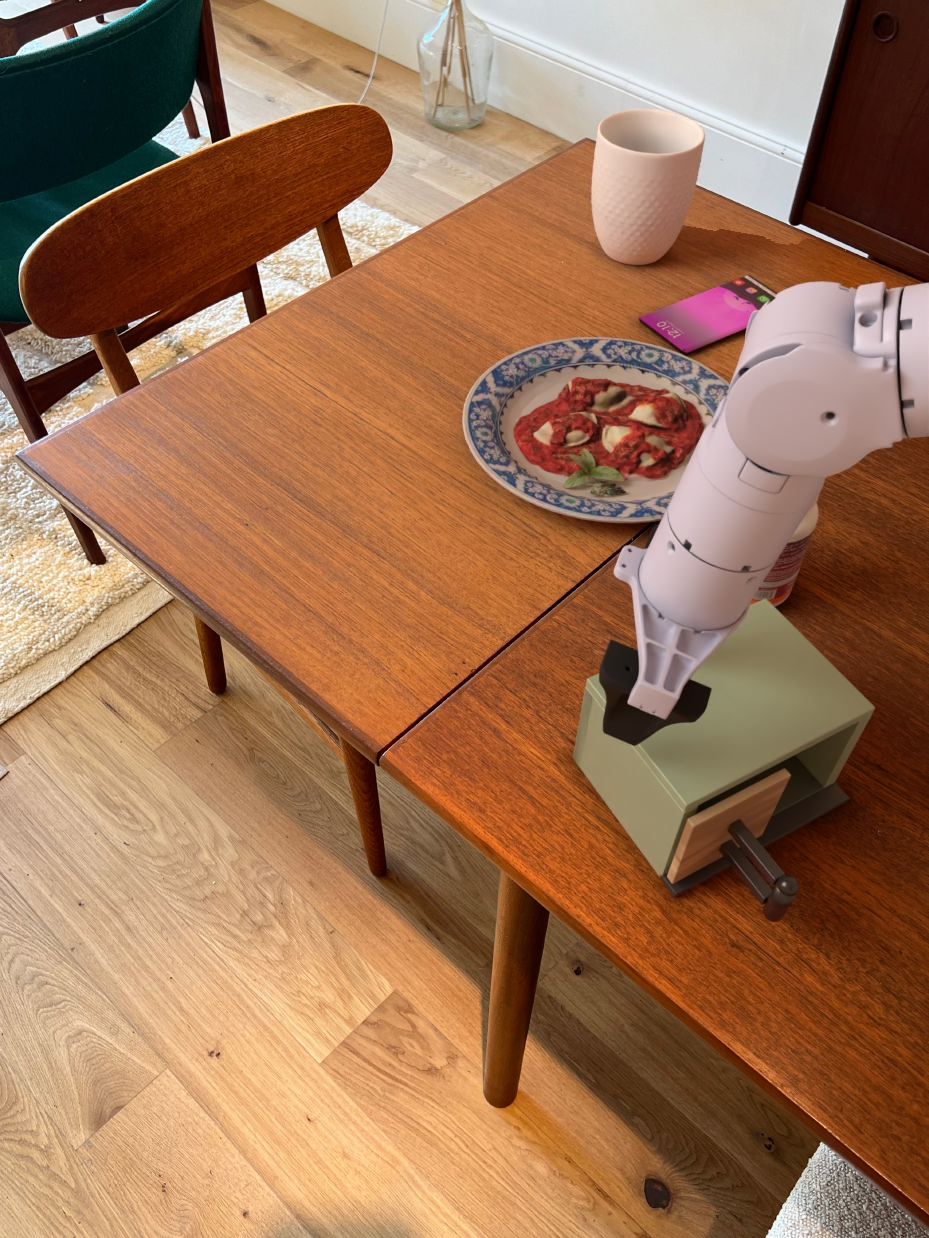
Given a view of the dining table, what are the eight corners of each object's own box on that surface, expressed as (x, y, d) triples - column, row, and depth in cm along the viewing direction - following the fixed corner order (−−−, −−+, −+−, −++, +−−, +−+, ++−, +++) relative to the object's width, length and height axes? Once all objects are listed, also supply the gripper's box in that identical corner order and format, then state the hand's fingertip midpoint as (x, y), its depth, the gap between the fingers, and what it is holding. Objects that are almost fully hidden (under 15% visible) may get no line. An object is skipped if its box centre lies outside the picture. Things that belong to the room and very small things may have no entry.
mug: (585, 207, 117) (597, 90, 108) (679, 213, 117) (700, 96, 107) (583, 273, 108) (596, 151, 98) (685, 280, 107) (709, 157, 97)
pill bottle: (805, 584, 78) (849, 473, 69) (759, 625, 75) (799, 515, 66) (740, 544, 81) (775, 432, 72) (694, 582, 78) (724, 470, 69)
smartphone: (793, 313, 103) (796, 305, 102) (682, 356, 97) (684, 349, 97) (745, 281, 107) (747, 273, 106) (636, 321, 101) (637, 313, 101)
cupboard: (847, 802, 65) (893, 724, 58) (674, 898, 60) (702, 825, 54) (736, 679, 71) (766, 597, 65) (572, 758, 67) (586, 678, 60)
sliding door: (819, 903, 59) (855, 847, 54) (726, 958, 57) (755, 905, 52) (756, 827, 63) (784, 767, 57) (666, 876, 60) (687, 818, 55)
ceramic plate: (545, 327, 101) (548, 301, 98) (791, 410, 92) (800, 383, 90) (406, 470, 86) (405, 442, 84) (683, 584, 78) (690, 557, 75)
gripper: (680, 408, 52) (607, 573, 63) (605, 599, 43) (535, 754, 54) (808, 458, 51) (713, 616, 62) (758, 662, 42) (657, 806, 53)
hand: (638, 683), depth 58 cm, fingers open, 7 cm apart
